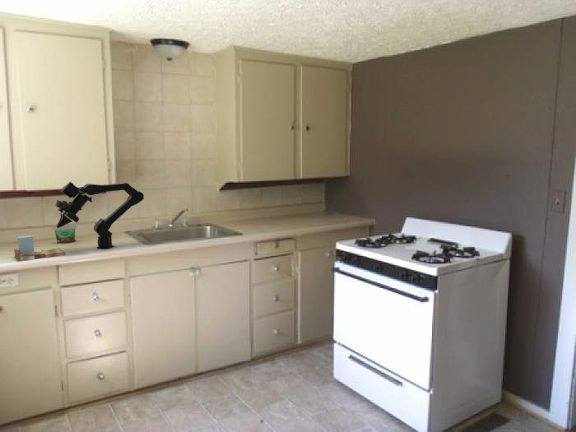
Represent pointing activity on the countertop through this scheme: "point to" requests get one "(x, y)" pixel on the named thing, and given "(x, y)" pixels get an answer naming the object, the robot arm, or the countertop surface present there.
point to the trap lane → (39, 254)
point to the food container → (65, 234)
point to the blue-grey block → (25, 244)
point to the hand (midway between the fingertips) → (57, 227)
